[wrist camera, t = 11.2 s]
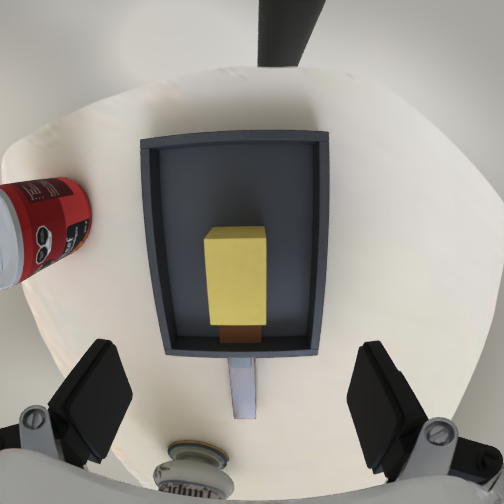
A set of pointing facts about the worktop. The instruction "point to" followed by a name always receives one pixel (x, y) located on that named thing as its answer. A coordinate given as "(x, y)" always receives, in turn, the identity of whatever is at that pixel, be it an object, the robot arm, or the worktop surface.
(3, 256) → the canned food
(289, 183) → the pan
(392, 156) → the worktop surface
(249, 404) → the pan handle
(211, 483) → the apothecary jar
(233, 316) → the sponge
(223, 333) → the plate
